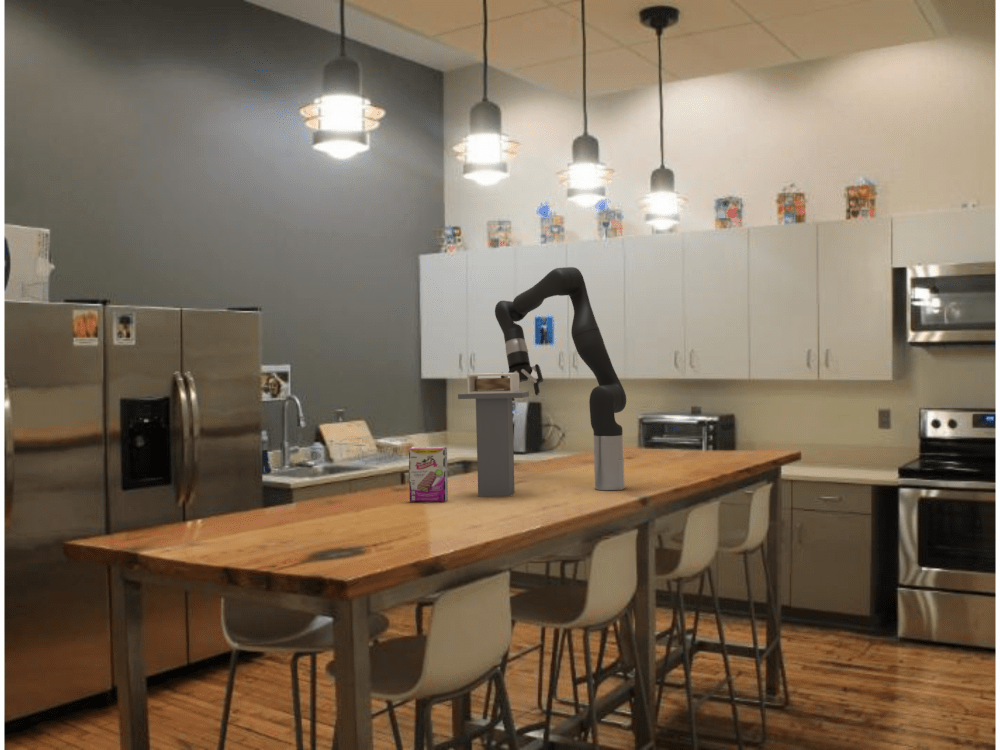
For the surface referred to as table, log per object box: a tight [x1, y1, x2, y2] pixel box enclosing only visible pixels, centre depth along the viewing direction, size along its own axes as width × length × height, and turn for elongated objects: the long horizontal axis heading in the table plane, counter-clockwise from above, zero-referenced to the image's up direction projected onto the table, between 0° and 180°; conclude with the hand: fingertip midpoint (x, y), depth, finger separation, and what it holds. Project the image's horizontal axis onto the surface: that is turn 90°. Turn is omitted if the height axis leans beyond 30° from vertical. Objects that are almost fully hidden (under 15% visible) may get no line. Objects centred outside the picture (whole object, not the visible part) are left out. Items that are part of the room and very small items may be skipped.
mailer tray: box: [476, 377, 521, 391], centre depth 320 cm, size 12×22×3 cm, turn 169°
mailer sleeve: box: [466, 372, 520, 394], centre depth 308 cm, size 14×12×6 cm
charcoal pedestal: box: [457, 390, 530, 498], centre depth 308 cm, size 20×13×32 cm, turn 79°
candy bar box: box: [408, 446, 449, 503], centre depth 298 cm, size 11×5×16 cm, turn 84°
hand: (525, 397), depth 339 cm, fingers open, 8 cm apart
